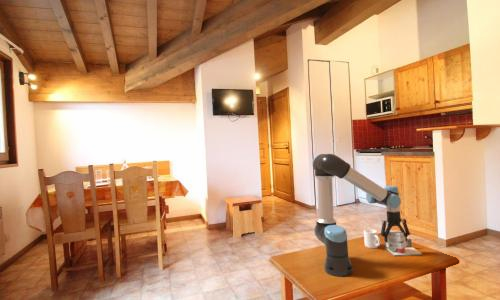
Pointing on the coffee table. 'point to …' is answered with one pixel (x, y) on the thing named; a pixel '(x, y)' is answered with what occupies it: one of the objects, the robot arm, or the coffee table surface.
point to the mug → (371, 238)
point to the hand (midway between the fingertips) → (396, 246)
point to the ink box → (396, 241)
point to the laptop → (406, 250)
